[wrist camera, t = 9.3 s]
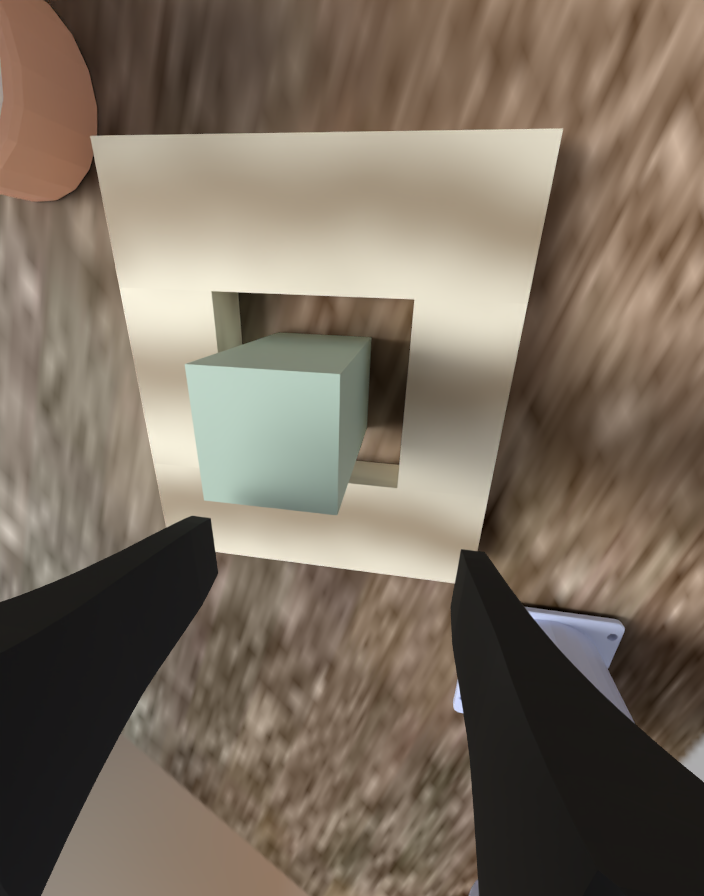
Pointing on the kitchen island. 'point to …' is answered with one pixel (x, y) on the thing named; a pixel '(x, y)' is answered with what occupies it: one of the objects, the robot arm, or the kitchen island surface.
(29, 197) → the salt shaker
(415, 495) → the board with square hole
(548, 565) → the kitchen island surface
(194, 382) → the peg
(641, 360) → the kitchen island surface
